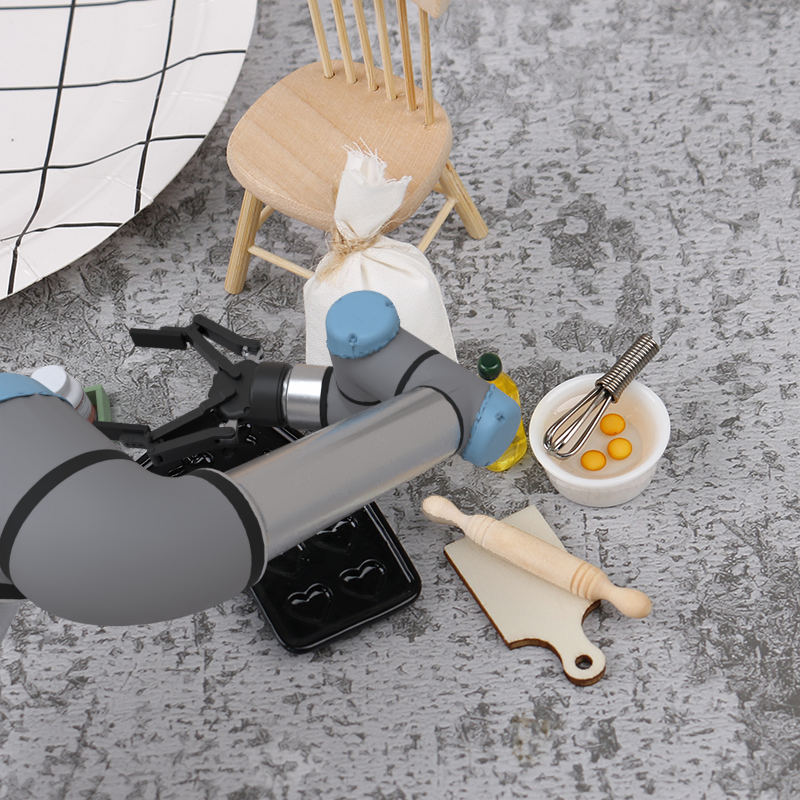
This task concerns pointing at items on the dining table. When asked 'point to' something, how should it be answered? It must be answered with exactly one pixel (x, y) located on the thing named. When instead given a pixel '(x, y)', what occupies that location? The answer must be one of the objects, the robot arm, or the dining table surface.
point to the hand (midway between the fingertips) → (114, 381)
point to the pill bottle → (66, 389)
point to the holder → (99, 402)
